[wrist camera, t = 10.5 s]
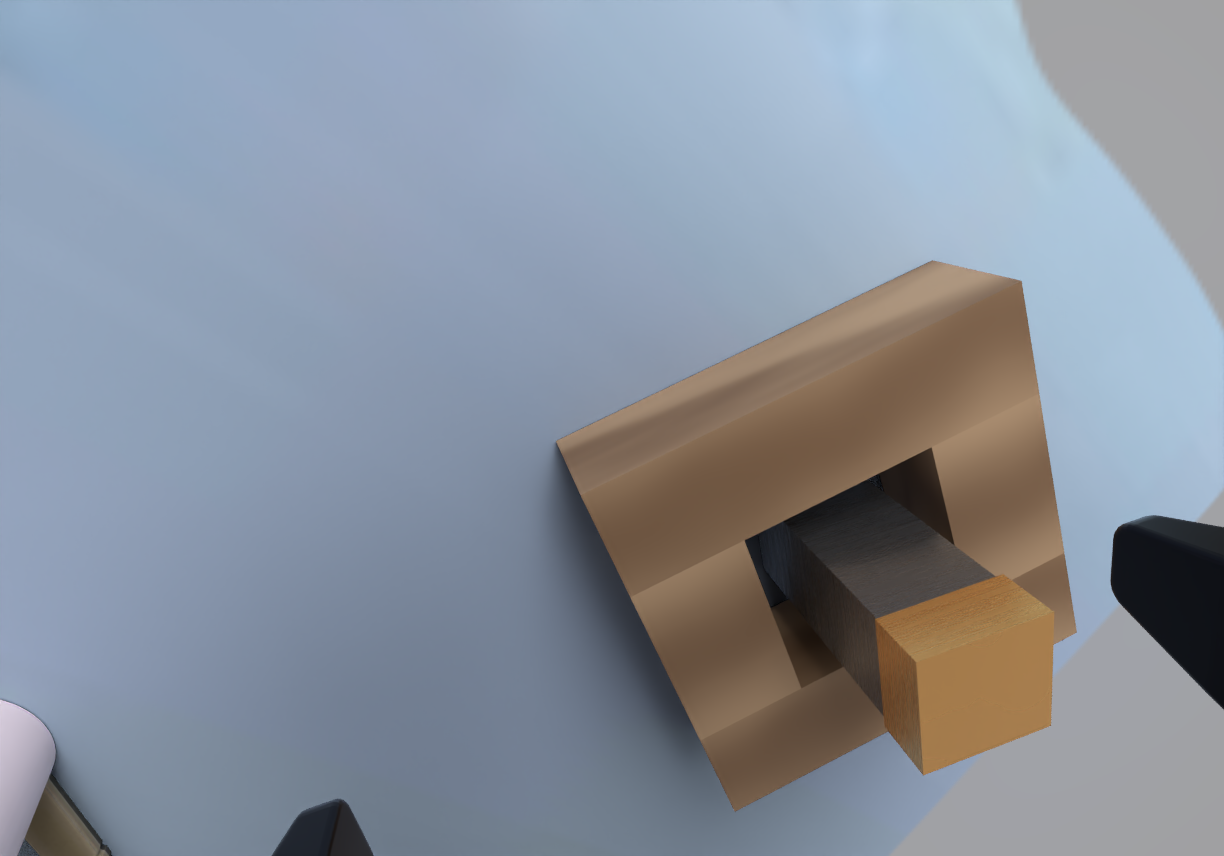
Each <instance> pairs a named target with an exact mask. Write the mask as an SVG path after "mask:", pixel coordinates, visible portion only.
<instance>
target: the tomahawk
mask: <svg viewBox="0 0 1224 856" xmlns="http://www.w3.org/2000/svg"><path fill="white" fill-rule="evenodd" d="M24 839H25V840H26V841H27V842H28V843H29V844H30V845H31V846H32V848H33V849H34V850H35V851H36V852H37V853H38V854H39V855H40V856H112V855H111V851H110V849H109V848H108V847H107V845H103V844H102V839H101V838H100V837H99V835H98V834H97V833H96V832H95V830H94V829H93V828H92V826H91V825H90V824H89V822H88V821H87V820H86V819H85V817H84V816H83V815H82V813H81V812H80V811H79V809H78V808H77V807H76V805H75V804H74V803H73V802H72V800H71V799H70V798H69V796H68V795H67V794H66V792H65V791H64V790H63V789H62V787H61V786H60V785H59V783H58V782H57V781H56V779H55V778H54V777H53V776H52V774H51V773H50V776H49V778H48V781H47V783H46V786H45V788H44V791H43V793H42V796H41V798H40V801H39V803H38V806H37V808H36V811H35V813H34V816H33V818H32V821H31V823H30V826H29V828H28V831H27V833H26V836H25V838H24Z"/></svg>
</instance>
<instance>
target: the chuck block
mask: <svg viewBox="0 0 1224 856" xmlns="http://www.w3.org/2000/svg"><path fill="white" fill-rule="evenodd" d="M556 442H557V444H558V447H559V449H560V451H561V453H562V455H563V458H564V460H565V462H566V464H567V466H568V469H569V471H570V473H571V475H572V477H573V480H574V482H575V484H576V486H577V489H578V491H579V493H580V495H581V497H582V499H583V501H584V503H585V505H586V507H587V509H588V512H589V514H590V516H591V518H592V520H593V522H594V524H595V526H596V528H597V530H598V532H599V534H600V536H601V538H602V540H603V542H604V544H605V546H606V548H607V550H608V553H609V555H610V557H611V559H612V561H613V563H614V565H615V567H616V569H617V571H618V573H619V575H620V577H621V579H622V581H623V583H624V585H625V587H626V589H627V592H628V594H629V596H630V598H631V600H632V602H633V604H634V606H635V608H636V610H637V612H638V614H639V616H640V618H641V620H642V622H643V624H644V626H645V628H646V630H647V633H648V635H649V637H650V639H651V641H652V643H653V645H654V647H655V649H656V651H657V653H658V655H659V657H660V659H661V661H662V663H663V665H664V667H665V669H666V671H667V674H668V676H669V678H670V680H671V682H672V684H673V686H674V688H675V690H676V692H677V694H678V696H679V698H680V700H681V702H682V704H683V706H684V708H685V710H686V712H687V715H688V717H689V719H690V721H691V723H692V725H693V727H694V729H695V731H696V733H697V735H698V737H699V739H700V741H701V743H702V745H703V747H704V749H705V751H706V753H707V756H708V758H709V760H710V762H711V764H712V766H713V768H714V770H715V772H716V774H717V776H718V778H719V780H720V782H721V784H722V786H723V788H724V790H725V792H726V794H727V797H728V799H729V801H730V803H731V805H732V807H733V809H734V811H737V810H739V809H741V808H743V807H745V806H747V805H749V804H750V803H752V802H754V801H756V800H758V799H760V798H762V797H764V796H766V795H768V794H770V793H771V792H773V791H775V790H777V789H779V788H781V787H783V786H785V785H787V784H789V783H791V782H792V781H794V780H796V779H798V778H800V777H802V776H804V775H806V774H808V773H810V772H811V771H813V770H815V769H817V768H819V767H821V766H823V765H825V764H827V763H829V762H831V761H832V760H834V759H836V758H838V757H840V756H842V755H844V754H846V753H848V752H850V751H852V750H853V749H855V748H857V747H859V746H861V745H863V744H865V743H867V742H869V741H871V740H873V739H874V738H876V737H878V736H880V735H882V734H884V733H886V732H888V730H887V729H886V728H885V726H884V716H883V715H882V714H881V713H880V711H879V710H878V709H877V708H876V706H875V705H874V704H873V703H872V701H871V700H870V699H869V698H868V697H867V695H866V694H865V693H864V692H863V690H862V689H861V688H860V687H859V685H858V684H857V683H856V682H855V680H854V679H853V678H852V677H851V675H850V674H849V673H848V672H847V671H846V669H845V668H844V667H843V666H842V664H841V663H840V662H839V661H838V659H837V658H836V657H835V656H834V654H833V653H832V652H831V651H830V650H829V648H828V647H827V646H826V645H825V643H824V642H823V641H822V640H821V638H820V637H819V636H818V635H817V633H816V632H815V631H814V630H813V629H812V627H811V626H810V625H809V624H808V622H807V621H806V620H805V619H804V617H803V616H802V615H801V614H800V612H799V611H798V610H797V609H796V608H795V606H794V605H793V604H792V603H791V601H790V600H789V599H788V600H786V601H784V602H782V603H780V604H778V605H776V606H774V607H772V608H770V606H769V603H768V600H767V598H766V595H765V593H764V590H763V588H762V585H761V582H760V580H759V577H758V575H757V572H756V569H755V567H754V564H753V562H752V559H751V556H750V554H749V551H748V549H747V546H746V543H745V541H744V540H746V539H748V538H750V537H752V536H754V535H756V534H758V533H760V532H762V531H764V530H766V529H768V528H770V527H772V526H774V525H776V524H778V523H780V522H782V521H784V520H786V519H788V518H790V517H792V516H795V515H797V514H799V513H801V512H803V511H805V510H807V509H809V508H811V507H813V506H815V505H817V504H819V503H821V502H823V501H825V500H827V499H829V498H831V497H833V496H835V495H837V494H839V493H841V492H843V491H845V490H847V489H849V488H851V487H853V486H855V485H857V484H859V483H861V482H863V481H865V480H867V479H869V478H871V477H873V476H875V475H877V474H879V475H880V479H881V483H882V486H883V490H884V493H885V494H887V495H888V496H889V497H891V498H892V499H893V500H895V501H896V502H897V503H899V504H900V505H901V506H903V507H904V508H905V509H907V510H908V511H909V512H911V513H912V514H913V515H915V516H916V517H917V518H919V519H920V520H921V521H923V522H924V523H925V524H927V525H928V526H929V527H931V528H932V529H933V530H935V531H936V532H937V533H939V534H940V535H941V536H943V537H944V538H945V539H947V540H948V541H949V542H951V543H952V544H953V545H955V546H956V547H957V548H959V549H960V550H961V551H963V552H964V553H965V554H967V555H968V556H969V557H970V558H972V559H973V560H974V561H976V562H977V563H978V564H980V565H981V566H982V567H984V568H985V569H986V570H988V571H989V572H990V573H992V574H993V575H994V576H999V575H1001V574H1004V575H1005V576H1006V577H1008V578H1009V579H1010V580H1012V581H1013V582H1014V583H1016V584H1017V585H1018V586H1020V587H1021V588H1023V589H1024V590H1025V591H1027V592H1028V593H1029V594H1031V595H1032V596H1033V597H1035V598H1036V599H1037V600H1039V601H1040V602H1041V603H1043V604H1044V605H1046V606H1047V607H1048V608H1050V609H1051V610H1052V611H1054V639H1053V645H1054V644H1056V643H1058V642H1059V641H1061V640H1063V639H1065V638H1067V637H1069V636H1071V635H1073V634H1075V633H1077V631H1076V624H1075V618H1074V612H1073V605H1072V599H1071V593H1070V586H1069V580H1068V574H1067V567H1066V561H1065V555H1064V548H1063V542H1062V536H1061V529H1060V523H1059V516H1058V510H1057V504H1056V497H1055V491H1054V485H1053V478H1052V472H1051V466H1050V459H1049V453H1048V447H1047V440H1046V434H1045V428H1044V421H1043V415H1042V409H1041V402H1040V396H1039V389H1038V383H1037V377H1036V370H1035V364H1034V358H1033V351H1032V345H1031V339H1030V332H1029V326H1028V320H1027V313H1026V307H1025V301H1024V294H1023V288H1022V281H1020V280H1015V279H1011V278H1006V277H1002V276H998V275H993V274H989V273H985V272H980V271H976V270H972V269H967V268H963V267H959V266H954V265H950V264H946V263H941V262H937V261H931V262H928V263H926V264H924V265H922V266H920V267H918V268H916V269H914V270H912V271H910V272H908V273H906V274H903V275H901V276H899V277H897V278H895V279H893V280H891V281H889V282H887V283H885V284H883V285H881V286H878V287H876V288H874V289H872V290H870V291H868V292H866V293H864V294H862V295H860V296H858V297H856V298H853V299H851V300H849V301H847V302H845V303H843V304H841V305H839V306H837V307H835V308H833V309H830V310H828V311H826V312H824V313H822V314H820V315H818V316H816V317H814V318H812V319H810V320H808V321H805V322H803V323H801V324H799V325H797V326H795V327H793V328H791V329H789V330H787V331H785V332H783V333H780V334H778V335H776V336H774V337H772V338H770V339H768V340H766V341H764V342H762V343H760V344H758V345H755V346H753V347H751V348H749V349H747V350H745V351H743V352H741V353H739V354H737V355H735V356H732V357H730V358H728V359H726V360H724V361H722V362H720V363H718V364H716V365H714V366H712V367H710V368H707V369H705V370H703V371H701V372H699V373H697V374H695V375H693V376H691V377H689V378H687V379H685V380H682V381H680V382H678V383H676V384H674V385H672V386H670V387H668V388H666V389H664V390H662V391H660V392H657V393H655V394H653V395H651V396H649V397H647V398H645V399H643V400H641V401H639V402H637V403H634V404H632V405H630V406H628V407H626V408H624V409H622V410H620V411H618V412H616V413H614V414H612V415H609V416H607V417H605V418H603V419H601V420H599V421H597V422H595V423H593V424H591V425H589V426H587V427H584V428H582V429H580V430H578V431H576V432H574V433H572V434H570V435H568V436H566V437H564V438H561V439H559V440H557V441H556Z"/></svg>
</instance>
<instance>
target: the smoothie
mask: <svg viewBox="0 0 1224 856" xmlns="http://www.w3.org/2000/svg"><path fill="white" fill-rule="evenodd" d="M55 757H56V748H55V743H54V740H53V738H52V736H51V734H50V732H49V730H48V729H47V727H46V726H45V725H44V724H43V723H42V722H41V721H40V720H39V719H38V718H37V717H36V716H34V715H33V714H31V713H30V712H28V711H27V710H25V709H23V708H21V707H19V706H17V705H15V704H12V703H9V702H7V701H3V700H0V856H18V853H19V851H20V848H21V846H22V843H23V841H24V838H25V836H26V833H27V831H28V828H29V826H30V823H31V821H32V818H33V816H34V813H35V811H36V808H37V806H38V803H39V801H40V798H41V796H42V793H43V791H44V788H45V786H46V783H47V781H48V778H49V776H50V773H51V771H52V768H53V766H54V762H55Z"/></svg>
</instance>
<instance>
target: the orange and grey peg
mask: <svg viewBox="0 0 1224 856" xmlns="http://www.w3.org/2000/svg"><path fill="white" fill-rule="evenodd" d="M758 534H759V541H760V547H761V553H762V560H763V566H764V569H765V570H766V572H767V573H768V574H769V575H770V577H771V578H772V579H773V580H774V582H775V583H776V584H777V585H778V586H779V588H780V589H781V590H782V591H783V593H784V594H785V595H786V596H787V598H788V599H789V600H790V601H791V603H792V604H793V605H794V606H795V608H796V609H797V610H798V611H799V612H800V614H801V615H802V616H803V617H804V619H805V620H806V621H807V622H808V624H809V625H810V626H811V627H812V629H813V630H814V631H815V632H816V633H817V635H818V636H819V637H820V638H821V640H822V641H823V642H824V643H825V645H826V646H827V647H828V648H829V650H830V651H831V652H832V653H833V654H834V656H835V657H836V658H837V659H838V661H839V662H840V663H841V664H842V666H843V667H844V668H845V669H846V671H847V672H848V673H849V674H850V675H851V677H852V678H853V679H854V680H855V682H856V683H857V684H858V685H859V687H860V688H861V689H862V690H863V692H864V693H865V694H866V695H867V697H868V698H869V699H870V700H871V701H872V703H873V704H874V705H875V706H876V708H877V709H878V710H879V711H880V713H881V714H882V715H883V716H884V726H885V728H886V729H887V730H888V731H889V733H890V734H891V735H892V736H893V738H894V739H895V740H896V742H897V743H898V744H899V745H900V747H901V748H902V749H903V750H904V752H905V753H906V754H907V755H908V757H909V758H910V759H911V760H912V762H913V763H914V764H915V765H916V767H917V768H918V769H919V770H920V772H921V773H922V774H923V775H925V774H928V773H931V772H933V771H936V770H938V769H941V768H943V767H946V766H949V765H951V764H954V763H956V762H959V761H961V760H964V759H967V758H969V757H972V756H974V755H977V754H979V753H982V752H985V751H987V750H990V749H992V748H995V747H997V746H1000V745H1003V744H1005V743H1008V742H1010V741H1013V740H1015V739H1018V738H1020V737H1023V736H1026V735H1028V734H1031V733H1033V732H1036V731H1039V730H1041V729H1044V728H1046V727H1048V726H1051V704H1052V672H1053V639H1054V611H1052V610H1051V609H1050V608H1048V607H1047V606H1046V605H1044V604H1043V603H1041V602H1040V601H1039V600H1037V599H1036V598H1035V597H1033V596H1032V595H1031V594H1029V593H1028V592H1027V591H1025V590H1024V589H1023V588H1021V587H1020V586H1018V585H1017V584H1016V583H1014V582H1013V581H1012V580H1010V579H1009V578H1008V577H1006V576H1005V575H1004V574H1001V575H999V576H994V575H993V574H992V573H990V572H989V571H988V570H986V569H985V568H984V567H982V566H981V565H980V564H978V563H977V562H976V561H974V560H973V559H972V558H970V557H969V556H968V555H967V554H965V553H964V552H963V551H961V550H960V549H959V548H957V547H956V546H955V545H953V544H952V543H951V542H949V541H948V540H947V539H945V538H944V537H943V536H941V535H940V534H939V533H937V532H936V531H935V530H933V529H932V528H931V527H929V526H928V525H927V524H925V523H924V522H923V521H921V520H920V519H919V518H917V517H916V516H915V515H913V514H912V513H911V512H909V511H908V510H907V509H905V508H904V507H903V506H901V505H900V504H899V503H897V502H896V501H895V500H893V499H892V498H891V497H889V496H888V495H887V494H885V493H884V492H883V491H881V490H880V489H879V488H877V487H876V486H875V485H874V484H872V483H871V482H870V481H868V480H865V481H863V482H861V483H859V484H857V485H855V486H853V487H851V488H849V489H847V490H845V491H843V492H841V493H839V494H837V495H835V496H833V497H831V498H829V499H827V500H825V501H823V502H821V503H819V504H817V505H815V506H813V507H811V508H809V509H807V510H805V511H803V512H801V513H799V514H797V515H795V516H792V517H790V518H788V519H786V520H784V521H782V522H780V523H778V524H776V525H774V526H772V527H770V528H768V529H766V530H764V531H762V532H760V533H758Z"/></svg>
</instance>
